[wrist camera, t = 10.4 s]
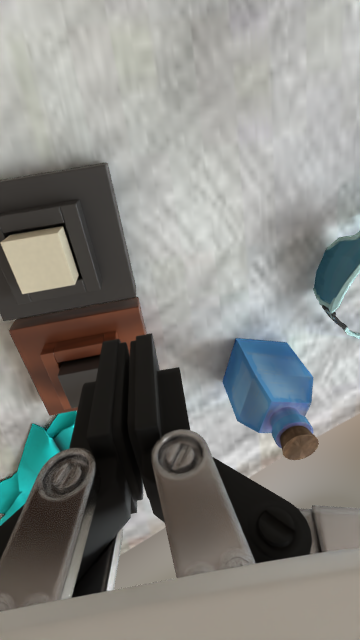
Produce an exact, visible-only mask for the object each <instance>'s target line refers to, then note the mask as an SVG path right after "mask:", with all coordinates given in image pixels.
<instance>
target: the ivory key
mask: <svg viewBox="0 0 360 640" xmlns="http://www.w3.org/2000/svg"><path fill="white" fill-rule="evenodd" d="M0 243H1V246H2V248H3V250H4V253H5V255H6V257H7V260H8V262H9V264H10V267H11V269H12V271H13V274H14V276H15V278H16V281H17V283H18V285H19V288H20V290H21V292H22V294H26V293H32V292H37V291H43V290H49V289H54V288H60V287H65V286H71V285H75V283H76V281H77V278H78V276H79V274H78V271H77V268H76V264H75V261H74V258H73V255H72V252H71V249H70V246H69V243H68V239H67V236H66V233H65V230H64V227H63V226H59V227H54V228H48V229H42V230H36V231H30V232H24V233H18V234H13V235H9V236H8V237H7V238H6V239H4V240H3V241H2V242H0Z"/></svg>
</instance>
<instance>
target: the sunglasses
mask: <svg viewBox="0 0 360 640" xmlns="http://www.w3.org/2000/svg"><path fill="white" fill-rule="evenodd" d="M359 273H360V231H359V232H358V233H357V234H356V235H353V236H346V237H340V238H338V239H337V240H336V241H334V242H333V243H332V244H331V245H330V246H329V247H328V248H327V249H326V251H325V253H324V255H323V258H322V260H321V262H320V265H319V267H318V269H317V271H316V277H315V284H314V288H313V290H314V293H315V296H316V298H317V299H318V300H319V304H320V305H321V306H322V308H323V309H324V310H325V312H326V313H327V314H328V316H329V317H330V318H331V319H332V320H333V321H334V322H335V323H336V324H338V325H339V326H340V327H342V328H343V330H344V331H345V332H346V333H347V334H348V335H350V336H353V337H356V338H359V339H360V334H358V333H355V332H352V331H350V330H349V329H348V327H347V326H346V325H345V324H344V323H342V322H340V320H339V319H338V318H337V317H336V312H334V311H335V310H336V309H337V308H338V307H339V306H340V304H341V302H342V300H343V298H344V296H345V293H346V291H347V290H348V288H349V287H350V285H351V284H352V282H353V281H354V279H355V278H356V277H357V275H358V274H359Z"/></svg>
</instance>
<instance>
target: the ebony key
mask: <svg viewBox="0 0 360 640" xmlns="http://www.w3.org/2000/svg"><path fill="white" fill-rule="evenodd" d="M99 360H100V355H98V356H92V357H87V358H82V359H77V360H71V361H66V362H62V363H61V367H60V370H59V373H58V378H59V381H60V383H61V385H62V388H63V390H64V392H65V395H66V397H67V399H68V402H69V404H70V406H71V408H76V407H78V405H79V401H80V396H81V392H82V387H83V385H84V384H85V383H88V382H94V381H96V377H97V371H98V366H99Z"/></svg>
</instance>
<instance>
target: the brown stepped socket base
mask: <svg viewBox="0 0 360 640" xmlns="http://www.w3.org/2000/svg"><path fill="white" fill-rule="evenodd" d="M9 333H10V335H11V337H12V339H13V341H14V343H15V345H16V347H17V349H18V351H19V353H20V355H21V358H22V360H23V362H24V364H25V366H26V368H27V370H28V372H29V374H30V376H31V378H32V380H33V382H34V384H35V386H36V388H37V391H38V393H39V395H40V397H41V399H42V401H43V403H44V405H45V407H46V409H47V411H48V413H49V415H55V414H61V413H66V412H71V411H76V410H78V407H76V408H71V406H70V404H69V402H68V399H67V397H66V395H65V392H64V390H63V388H62V385H61V383H60V381H59V378H58V373H59V370H60V367H61V363H62V362H66V361H71V360H77V359H82V358H87V357H92V356H98V355H100V354H101V348H102V343H103V341H109V340H115V339H120V341H121V343H123V342H126V343H127V346H128V350H129V354H130V342H131V341H135V340H136V336H140V335H146V329H145V325H144V321H143V316H142V312H141V307H140V303H139V299H138V297H136V298H131V299H125V300H120V301H114V302H109V303H103V304H98V305H93V306H87V307H82V308H76V309H71V310H65V311H60V312H54V313H49V314H43V315H38V316H32V317H27V318H21V319H16V320H15V322H14V323H13V325H12V326H11V328H10V330H9Z"/></svg>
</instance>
